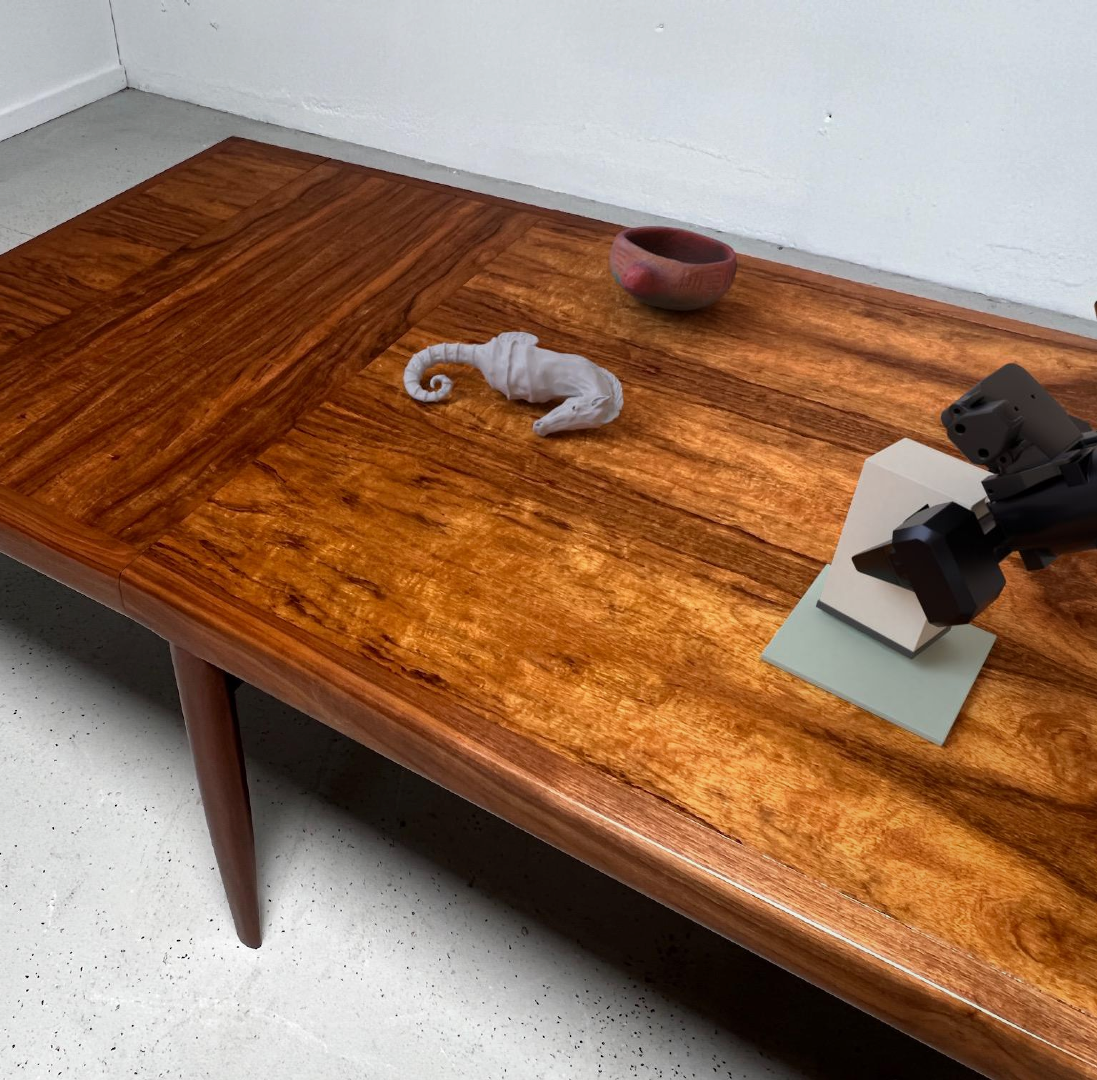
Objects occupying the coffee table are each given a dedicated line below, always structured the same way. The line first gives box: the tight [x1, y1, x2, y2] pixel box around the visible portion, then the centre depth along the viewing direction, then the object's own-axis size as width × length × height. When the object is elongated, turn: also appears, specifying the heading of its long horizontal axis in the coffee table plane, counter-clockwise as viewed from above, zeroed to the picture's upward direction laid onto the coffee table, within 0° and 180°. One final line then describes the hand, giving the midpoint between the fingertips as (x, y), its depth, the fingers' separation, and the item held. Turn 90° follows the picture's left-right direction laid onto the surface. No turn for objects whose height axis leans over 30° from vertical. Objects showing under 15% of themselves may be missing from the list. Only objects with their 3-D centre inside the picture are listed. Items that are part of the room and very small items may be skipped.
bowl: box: [609, 225, 738, 311], centre depth 107 cm, size 16×13×8 cm
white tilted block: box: [816, 437, 994, 660], centre depth 70 cm, size 5×7×12 cm
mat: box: [759, 563, 998, 747], centre depth 73 cm, size 12×12×1 cm
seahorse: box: [402, 331, 625, 437], centre depth 95 cm, size 5×12×20 cm
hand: (886, 539), depth 71 cm, fingers open, 7 cm apart
